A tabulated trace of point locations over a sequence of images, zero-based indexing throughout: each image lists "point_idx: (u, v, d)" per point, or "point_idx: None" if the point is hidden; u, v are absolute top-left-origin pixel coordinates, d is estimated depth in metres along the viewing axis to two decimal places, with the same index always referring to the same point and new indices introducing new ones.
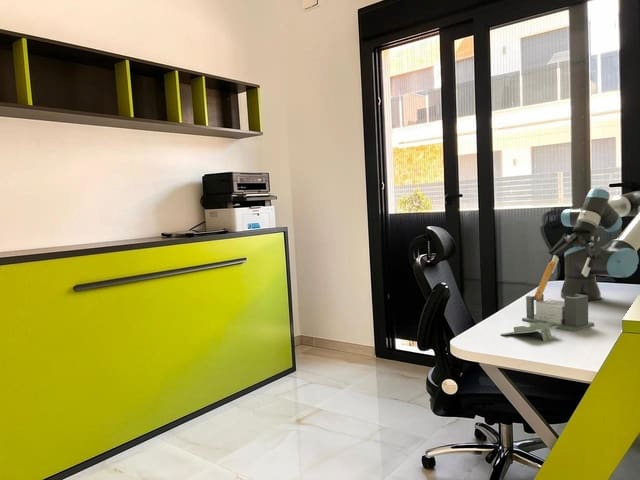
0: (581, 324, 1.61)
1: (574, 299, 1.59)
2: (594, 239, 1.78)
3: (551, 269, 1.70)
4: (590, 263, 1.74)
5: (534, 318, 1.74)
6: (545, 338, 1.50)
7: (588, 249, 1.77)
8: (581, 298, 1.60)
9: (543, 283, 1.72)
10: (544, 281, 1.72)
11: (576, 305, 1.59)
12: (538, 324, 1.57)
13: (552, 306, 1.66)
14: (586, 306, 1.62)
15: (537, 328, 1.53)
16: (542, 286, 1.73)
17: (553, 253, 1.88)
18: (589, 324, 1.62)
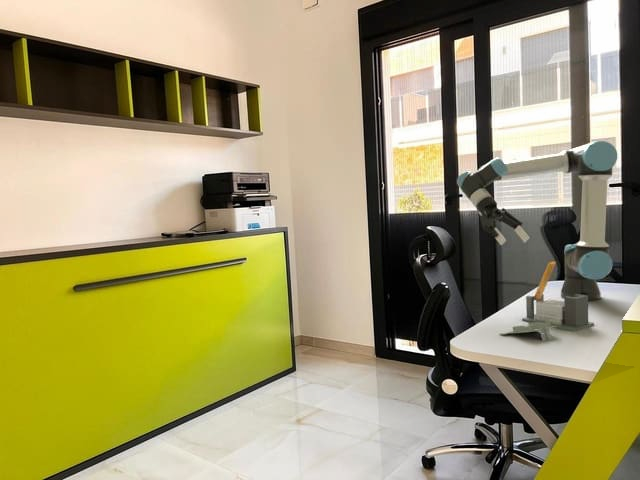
0: (581, 324, 1.61)
1: (574, 299, 1.59)
2: None
3: (551, 269, 1.70)
4: None
5: (534, 318, 1.74)
6: (544, 337, 1.50)
7: None
8: (581, 298, 1.60)
9: (543, 283, 1.72)
10: (544, 281, 1.72)
11: (576, 305, 1.59)
12: (537, 324, 1.58)
13: (552, 306, 1.66)
14: (586, 306, 1.62)
15: (536, 328, 1.54)
16: (542, 286, 1.73)
17: (515, 228, 1.91)
18: (589, 324, 1.62)
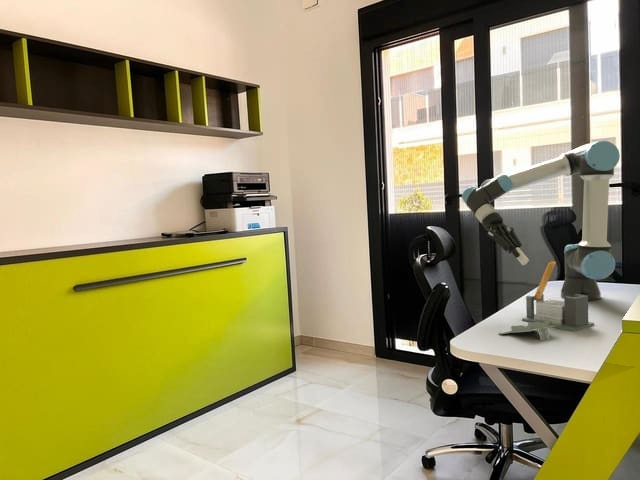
0: (581, 324, 1.61)
1: (574, 299, 1.59)
2: None
3: (551, 269, 1.70)
4: None
5: (534, 318, 1.74)
6: (542, 337, 1.51)
7: None
8: (581, 298, 1.60)
9: (543, 283, 1.72)
10: (544, 281, 1.72)
11: (576, 305, 1.59)
12: (535, 323, 1.58)
13: (552, 306, 1.66)
14: (586, 306, 1.62)
15: (534, 327, 1.55)
16: (542, 286, 1.73)
17: None
18: (589, 324, 1.62)
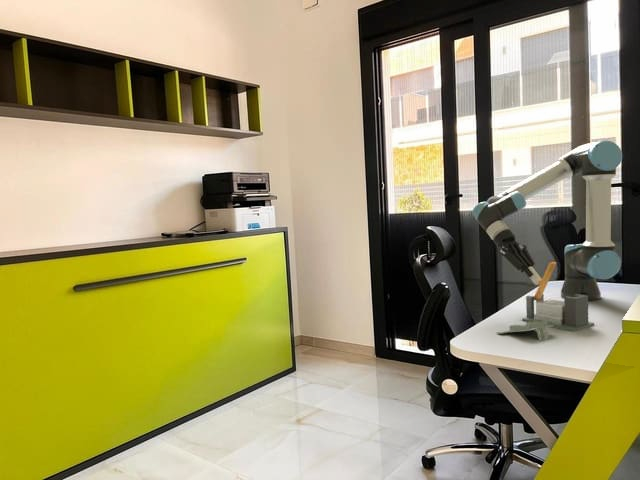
0: (581, 324, 1.61)
1: (574, 299, 1.59)
2: None
3: (552, 269, 1.70)
4: None
5: (534, 318, 1.74)
6: (540, 337, 1.51)
7: None
8: (581, 298, 1.60)
9: (543, 283, 1.72)
10: (544, 281, 1.72)
11: (576, 305, 1.59)
12: (534, 323, 1.59)
13: (552, 306, 1.66)
14: (586, 306, 1.62)
15: (533, 327, 1.55)
16: (542, 286, 1.72)
17: None
18: (589, 324, 1.62)
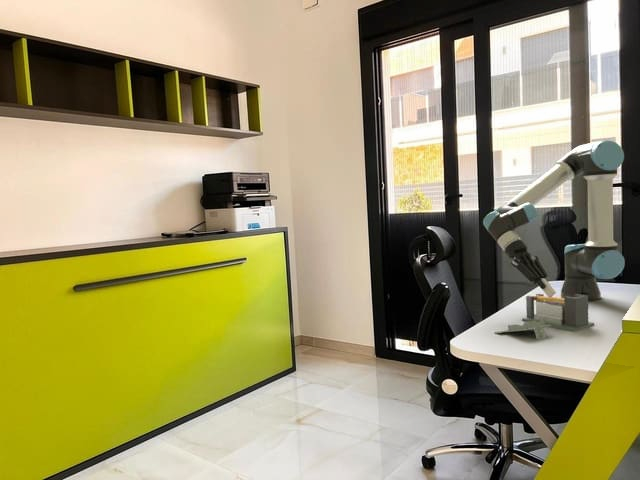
0: (581, 324, 1.61)
1: (574, 299, 1.59)
2: None
3: None
4: None
5: (534, 318, 1.74)
6: (538, 336, 1.52)
7: None
8: (581, 298, 1.60)
9: (552, 300, 1.69)
10: (554, 300, 1.69)
11: (576, 305, 1.59)
12: (532, 322, 1.60)
13: (552, 306, 1.66)
14: (586, 306, 1.62)
15: (531, 326, 1.56)
16: None
17: None
18: (589, 324, 1.62)
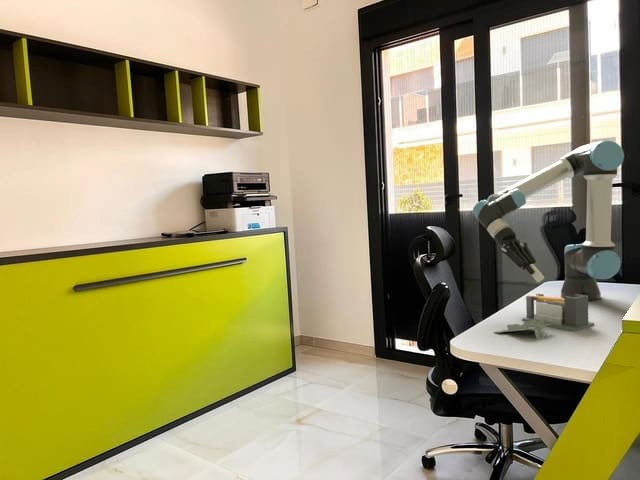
0: (581, 324, 1.61)
1: (574, 299, 1.59)
2: None
3: None
4: None
5: (534, 318, 1.74)
6: (538, 336, 1.53)
7: None
8: (581, 298, 1.60)
9: (552, 300, 1.70)
10: (554, 300, 1.69)
11: (576, 305, 1.59)
12: (531, 322, 1.60)
13: (552, 306, 1.66)
14: (586, 306, 1.62)
15: (530, 326, 1.56)
16: None
17: None
18: (589, 324, 1.62)
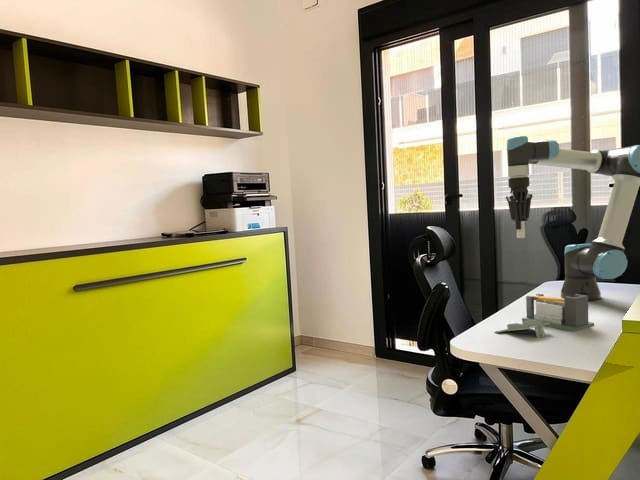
0: (581, 324, 1.61)
1: (574, 299, 1.59)
2: None
3: None
4: None
5: (534, 318, 1.74)
6: (538, 335, 1.54)
7: None
8: (581, 298, 1.60)
9: (552, 300, 1.70)
10: (554, 300, 1.69)
11: (576, 305, 1.59)
12: (530, 321, 1.61)
13: (552, 306, 1.66)
14: (586, 306, 1.62)
15: (530, 325, 1.57)
16: None
17: None
18: (589, 324, 1.62)
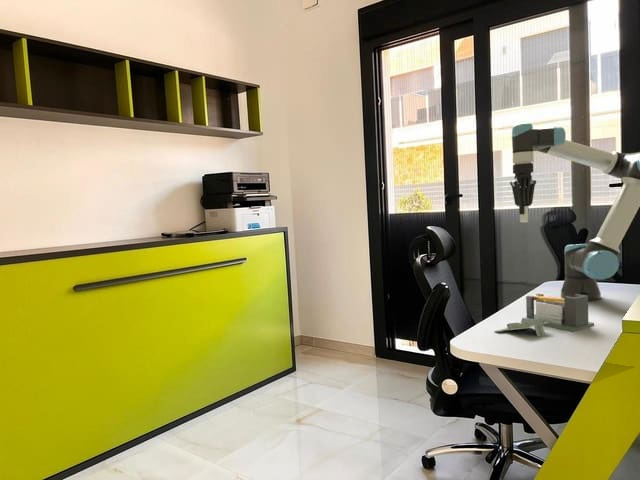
0: (581, 324, 1.61)
1: (574, 299, 1.59)
2: None
3: None
4: None
5: (534, 318, 1.74)
6: (539, 333, 1.55)
7: None
8: (581, 298, 1.60)
9: (552, 300, 1.70)
10: (554, 300, 1.69)
11: (576, 305, 1.59)
12: (529, 320, 1.63)
13: (552, 306, 1.66)
14: (586, 306, 1.62)
15: (530, 324, 1.59)
16: None
17: None
18: (589, 324, 1.62)
